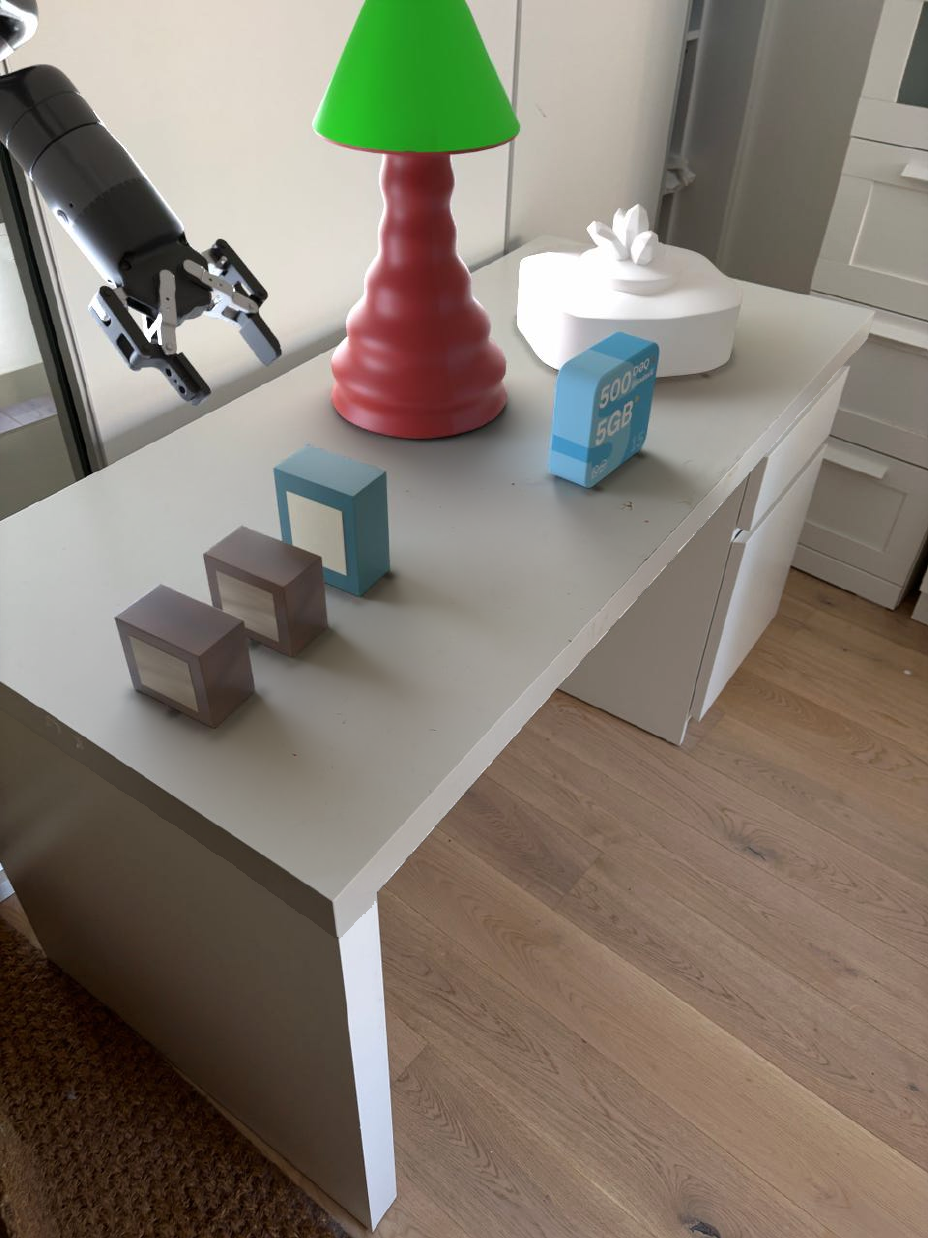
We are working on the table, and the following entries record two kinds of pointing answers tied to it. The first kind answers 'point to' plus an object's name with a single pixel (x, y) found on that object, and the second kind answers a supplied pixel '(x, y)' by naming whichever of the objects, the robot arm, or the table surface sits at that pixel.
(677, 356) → the crystal-topped trinket box
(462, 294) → the table lamp
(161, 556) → the table surface
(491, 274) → the table surface
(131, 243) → the robot arm
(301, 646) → the walnut block
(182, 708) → the walnut block
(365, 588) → the teal block
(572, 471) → the data package
